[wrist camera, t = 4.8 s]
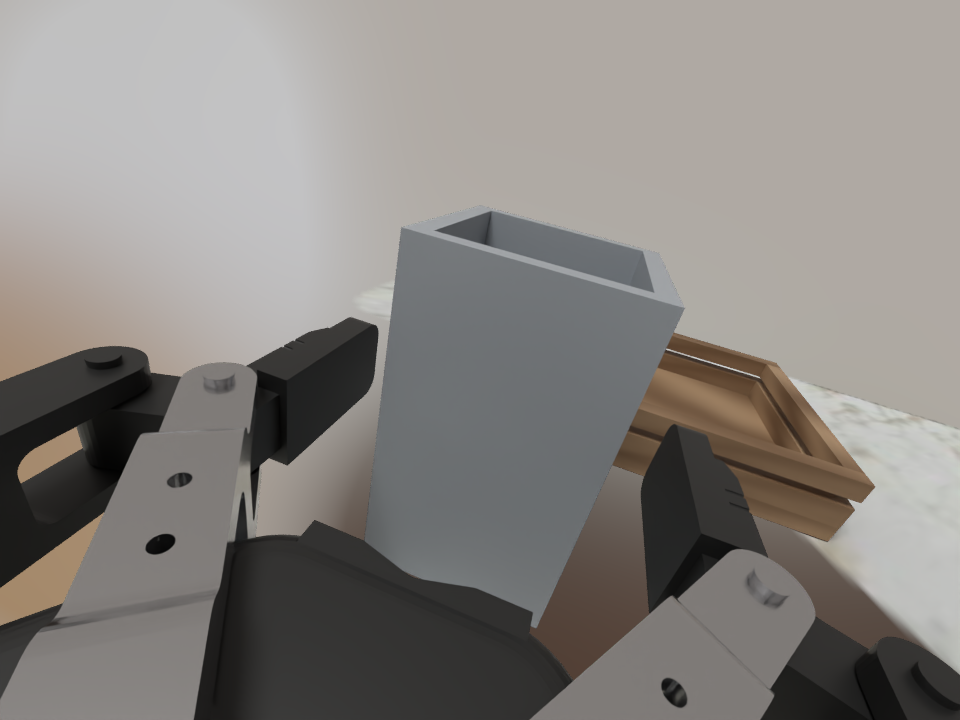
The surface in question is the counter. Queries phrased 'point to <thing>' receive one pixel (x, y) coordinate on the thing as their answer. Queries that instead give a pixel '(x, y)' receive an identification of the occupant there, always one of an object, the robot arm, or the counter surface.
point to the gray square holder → (508, 395)
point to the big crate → (750, 435)
